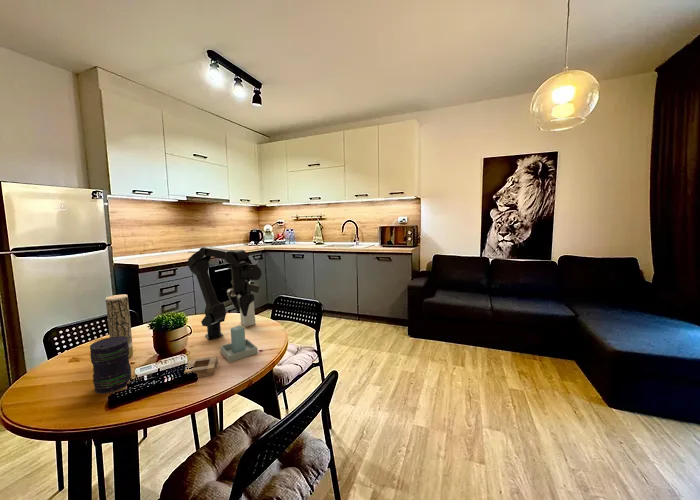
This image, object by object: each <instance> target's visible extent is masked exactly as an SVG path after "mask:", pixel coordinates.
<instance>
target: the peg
mask: <svg viewBox="0 0 700 500" xmlns="http://www.w3.org/2000/svg"><path fill="white" fill-rule="evenodd" d="M245 328H246V327H244V326H243V325H237V326H236V325H235V326H233V327H230V341H231V342H230V343H231V344H232V352H233V353H238V352H241V351H245V350H246V345H245V339H246V331H245V330H246V329H245Z"/></svg>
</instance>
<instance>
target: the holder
mask: <svg viewBox="0 0 700 500" xmlns="http://www.w3.org/2000/svg"><path fill="white" fill-rule="evenodd" d="M218 359H219V358H218V355H213V356H206V357H201V358H200V357H198V358H192V359H189V361H188V363H187V365H186V367H185V369H184V372H183V375H184V374H186V373H192V372H193V373H196V374H197V377H196V378H199V377H206V376H213V375H215V374H216V369H217V365H218V363H219V362H218V361H219V360H218ZM191 367H195V368H192V369H189V368H191ZM187 368H188V369H187Z"/></svg>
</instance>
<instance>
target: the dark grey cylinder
mask: <svg viewBox="0 0 700 500" xmlns="http://www.w3.org/2000/svg"><path fill="white" fill-rule="evenodd" d="M89 353H90V354H89V357H90V363H91V364H92V370H93V374H92V382H93V386H94V392H95V393H96V394H101V395H103V394H108V393H109V394H110V393H113V392H117V391H120V390H122V389H123V388H125V387H127V386H128V385H127V382H128V381H129V380H131V379H132V366H131V364H130V357H129V356H128V355H129V345H128V338H127V337H124V336H117V337H110V336H109V337H106V338H102V339H100V340H97V341H95V342H92V343H91V344H90V345H89ZM132 380H133V379H132Z"/></svg>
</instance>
